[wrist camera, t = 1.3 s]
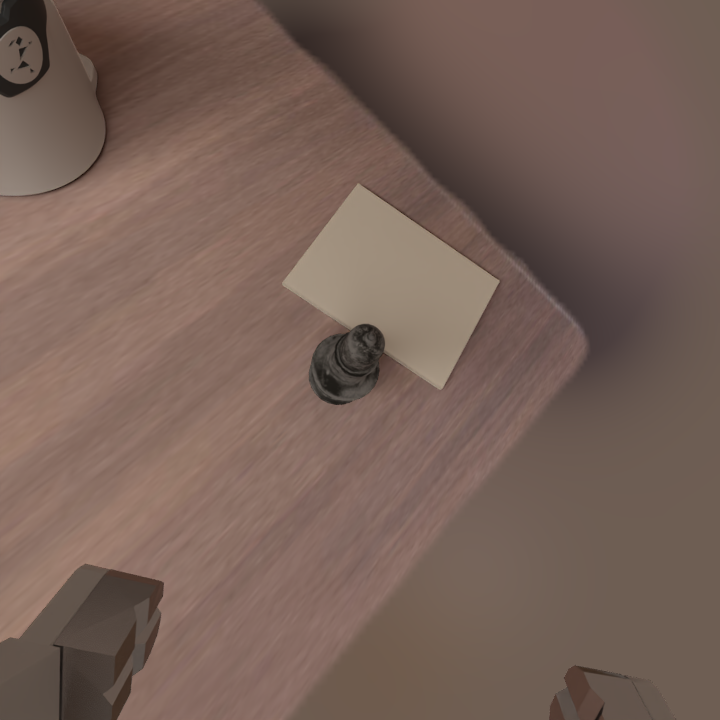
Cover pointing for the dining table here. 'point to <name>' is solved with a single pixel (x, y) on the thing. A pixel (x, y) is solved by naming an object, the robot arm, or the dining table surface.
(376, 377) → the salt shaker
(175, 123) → the dining table surface
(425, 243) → the placemat
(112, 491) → the dining table surface
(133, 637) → the robot arm
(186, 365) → the dining table surface
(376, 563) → the dining table surface
